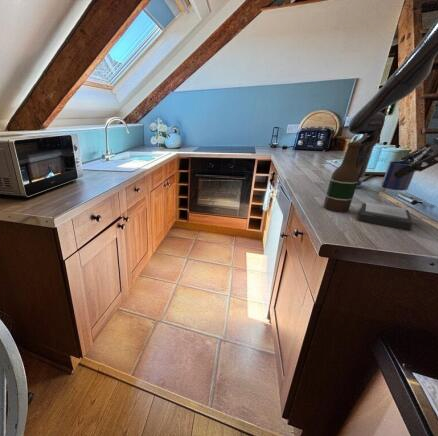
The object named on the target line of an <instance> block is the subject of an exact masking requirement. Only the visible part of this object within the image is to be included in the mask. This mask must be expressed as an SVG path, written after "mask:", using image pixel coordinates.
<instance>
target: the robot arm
mask: <svg viewBox="0 0 438 436" xmlns="http://www.w3.org/2000/svg"><path fill="white" fill-rule="evenodd" d="M437 55H438V18H437V19H436V20H435V22H434V23H433V24H432V26H431V27H430V29H428V30H427V33H426V34H425V35H424V36H423V38H422V39H421V40H420V42H419V43H418V44H417V46H416V47H415V48H414V49H413V51H412V52H411V53H409V55H408V57H406V59H405V60H404V61H403V62H402V63H401V64H400V65H399V67H398V68H397V69H396V70H395V71H394V72H393V73H392V75H390V76H389V78H388V79H387V80H386V81H385V83H384V84H383V85H382V87H380V89H379V90H378V91H377V92H376V93H375V94H374V96H372V98H371V99H369V100H368V101H367V102H366V103H365V105H363V106H362V107H361V109H359V110H358V111H357V112H356V113H355V114H354V116H353V117H352V118H351V120H350V121H349V123H348V126H347V130H348V132H349V134H351V135H362V136H361V137H360V138H358V139H356V140H353V142H360V143H361V146H360V148H359V153H358V157H357V161H356V168H357V170H358V174H359V178H358V182H357V186H356V189H358V188H361V187H362V183H363V182H366V181H367V180H369V179H370V178H372V177H376V174H375V175H371V174H369V175H368V176H366V177H365V175H366V172H367V168H368V166H369V162H370V159H371V157H372V154H373V150H374V148H375V146H376V145H377V143H378V141H379V138H380V135H381V134H382V131H383V128H384V127H385V126H384V125H385V121H386V117H385V114H384V113H383V112H382V111H383V110H384V109H386V108H388V107H390V106H392V105H395V104H396V103H397V102H399V101H401V100H403V99H404V98H406V97H407V96H409V95H411V94H412V93H413V92H414V91H415V90H416V89H417V88H418V87H419V86H420V85H421V84H422V83H423V82H424V81H425V80H426V79H427V78H428V77H429V75H430V73H431V71H432V68H433V65H434V61H435V58H436V57H437ZM431 140H432V142H433V144H432V145H430V146H428V147H427V146H420V147H419V148H417V149H415V150H413V151H412V152H410V153H409V154H407V155H405V156H403V157H401V158H400V161H401V162H412V163H411V164H409V165H408V166H409V167H408V166H406V167H404V168H402V169H400V170H398V171H396V172H394V173H393V175H394V176H395V177H396V178H397V179H400V178H402V177H404V176H405V175H407V174H409V173H411V172H413V171H414V172H415V173H416V172H422V171H425V170H426V169H429V168H431V167H433V166H435V165H437V164H438V134H437V135H435V136H433V137H432V139H431Z"/></svg>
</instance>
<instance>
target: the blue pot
mask: <svg viewBox="0 0 438 436" xmlns="http://www.w3.org/2000/svg"><path fill="white" fill-rule="evenodd" d="M411 163H412V162H401V160H400V161H399V160H396V161H395V160H393V161H389V162H388V165H387V168H386V171H385V173H384V176H383V179H382V182H381V185H380V187H381V188H383V189H387V190H393V191H408V189H409V187H410V185H411V183H412V181H413V180H412V179H413V178H414V175H415V173H416V172H414V171H413V172H411V173H409V174H407V175H405V176H404V177H402V178H400V179H397V178H396V177H395V176H394V175H393V173H394V172H396V171H398V170H400V169H402V168H404V167H406V166H408V165H409V164H411ZM408 167H409V166H408Z"/></svg>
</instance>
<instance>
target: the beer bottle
mask: <svg viewBox="0 0 438 436" xmlns="http://www.w3.org/2000/svg"><path fill="white" fill-rule="evenodd" d="M360 146H361V143H360V142H354V141H350V142H348V143H347V148H346V151H345V154H344V157H343V159H342V162H341V163H340V165H339V166H338V167H337V168H335V170H334V171H333V172H332V175H331V177H330V181H329V184H328V188H327V192H326V195H325V198H324V202H323V207H324V208H325V209H326V210H328V211H332V212H336V213H337V212H338V213H344V212H348V211H349V210H350V208H351V204H352V201H353V198H354V196H355V191H356V189H357V188H356V186H357V182H358V178H359V174H358V170H357V168H356V161H357V157H358V153H359V148H360Z"/></svg>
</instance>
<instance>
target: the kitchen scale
mask: <svg viewBox="0 0 438 436" xmlns="http://www.w3.org/2000/svg"><path fill="white" fill-rule="evenodd" d="M358 222H363V223H369V224H374V225H380V226H385V227H390V228H396V229H401V230H406V231H411V228H412V226H413V220H412V216H411V214H410V210H408V209H406V208H405V207H398V206H393V205H392V206H391V205H386V204H385V205H384V204H378V203H371V202H366V203H364V202H362V203H361V206H360V210H359V216H358Z"/></svg>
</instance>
